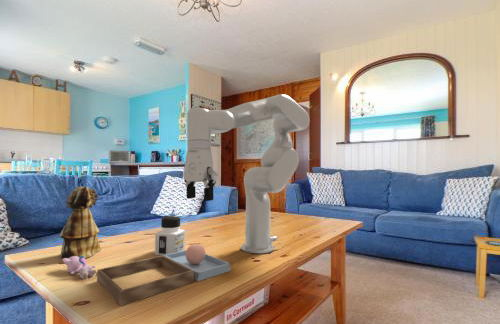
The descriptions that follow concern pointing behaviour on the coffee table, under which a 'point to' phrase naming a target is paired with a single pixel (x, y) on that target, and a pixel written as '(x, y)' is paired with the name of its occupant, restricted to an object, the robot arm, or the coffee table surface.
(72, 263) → the pink plastic figure
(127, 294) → the wooden box frame
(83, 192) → the plaid cloth bag
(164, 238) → the container
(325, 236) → the coffee table surface
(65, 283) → the coffee table surface
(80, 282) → the coffee table surface
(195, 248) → the ball
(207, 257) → the tray
